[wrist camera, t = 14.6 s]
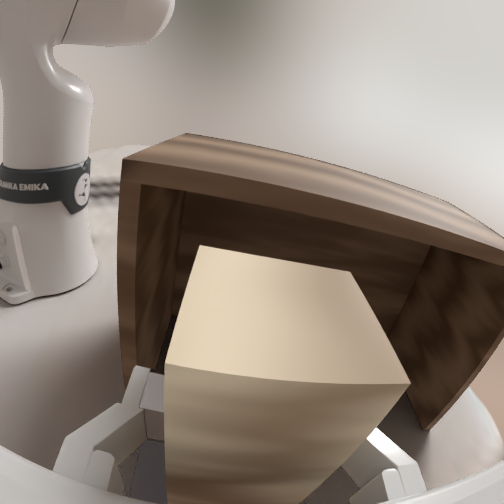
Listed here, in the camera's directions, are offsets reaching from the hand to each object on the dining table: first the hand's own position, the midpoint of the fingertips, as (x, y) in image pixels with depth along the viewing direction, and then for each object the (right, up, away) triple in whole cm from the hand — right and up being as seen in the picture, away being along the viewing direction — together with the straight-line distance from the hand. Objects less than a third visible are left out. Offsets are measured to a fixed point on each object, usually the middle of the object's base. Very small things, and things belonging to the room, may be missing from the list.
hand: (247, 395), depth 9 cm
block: (-1, -5, +1) cm, 6 cm away
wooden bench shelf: (+4, -7, +18) cm, 20 cm away
